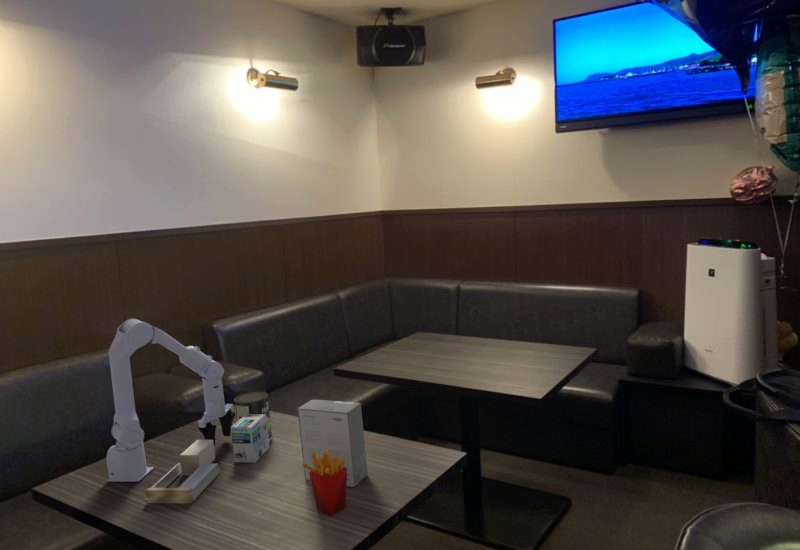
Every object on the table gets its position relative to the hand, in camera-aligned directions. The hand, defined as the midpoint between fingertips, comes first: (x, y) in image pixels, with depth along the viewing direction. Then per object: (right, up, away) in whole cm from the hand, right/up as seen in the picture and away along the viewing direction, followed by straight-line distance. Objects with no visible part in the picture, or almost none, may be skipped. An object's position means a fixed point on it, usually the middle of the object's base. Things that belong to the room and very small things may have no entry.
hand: (219, 440), depth 184 cm
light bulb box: (+12, -2, -8) cm, 15 cm away
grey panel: (-7, -6, -24) cm, 25 cm away
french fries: (+39, -5, -43) cm, 58 cm away
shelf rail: (-3, -6, -33) cm, 33 cm away
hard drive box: (+39, -3, -26) cm, 47 cm away
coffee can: (+10, -1, +3) cm, 11 cm away
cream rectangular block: (-2, -4, -13) cm, 14 cm away
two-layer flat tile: (+2, -5, -25) cm, 26 cm away
